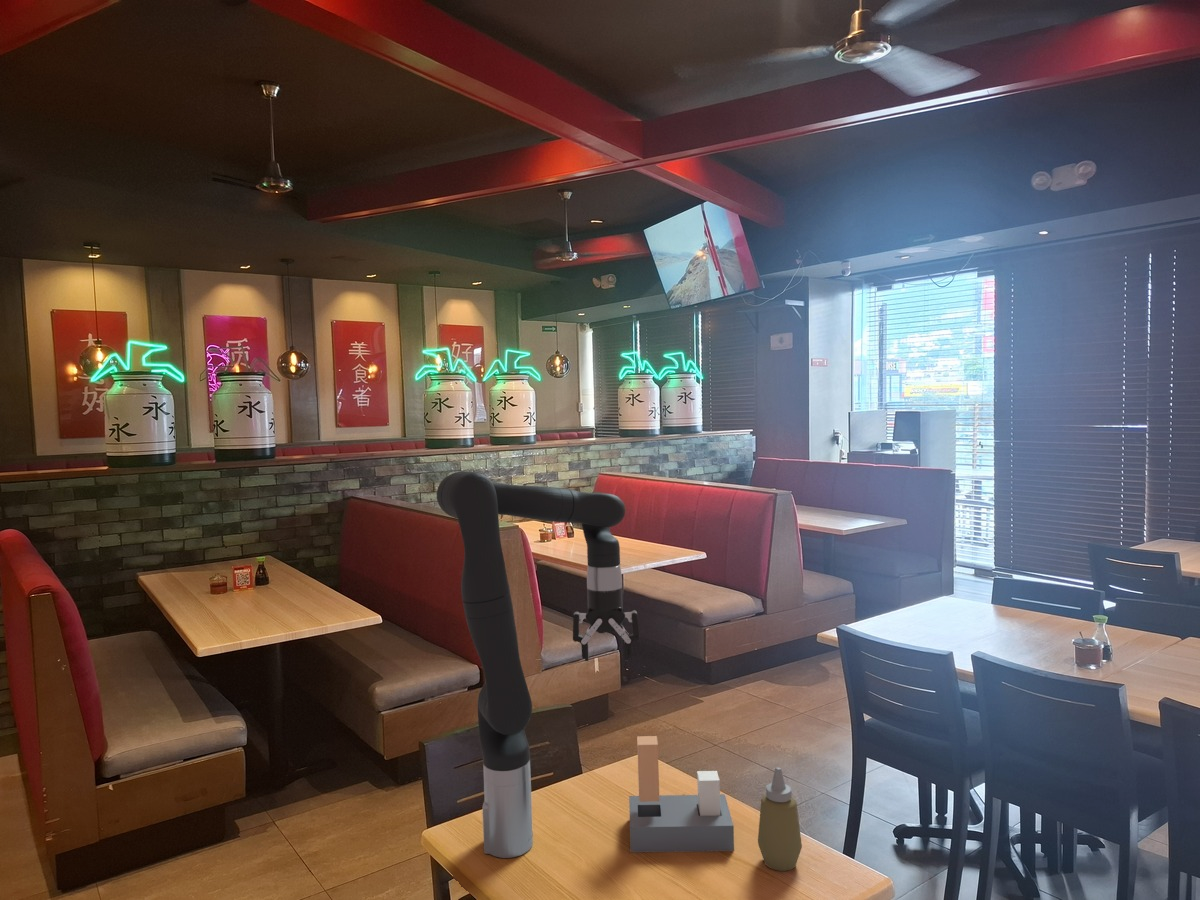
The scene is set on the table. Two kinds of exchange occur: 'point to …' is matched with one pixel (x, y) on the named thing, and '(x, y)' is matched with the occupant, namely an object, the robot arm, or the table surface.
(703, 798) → the offwhite plug
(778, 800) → the squeeze bottle
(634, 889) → the table surface
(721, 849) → the block
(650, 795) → the terracotta plug
